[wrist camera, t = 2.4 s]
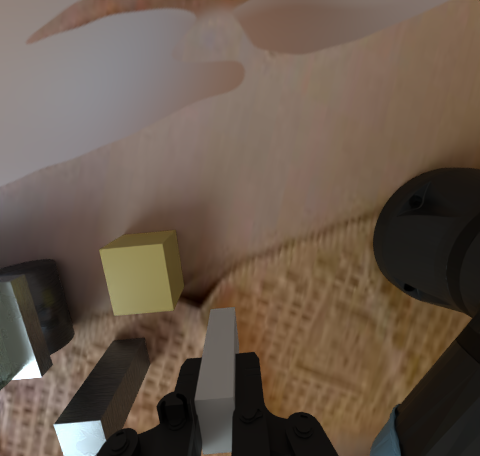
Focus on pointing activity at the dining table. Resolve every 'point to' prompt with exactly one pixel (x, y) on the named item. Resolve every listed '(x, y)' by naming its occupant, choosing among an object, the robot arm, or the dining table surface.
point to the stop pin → (103, 398)
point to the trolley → (31, 319)
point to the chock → (143, 272)
